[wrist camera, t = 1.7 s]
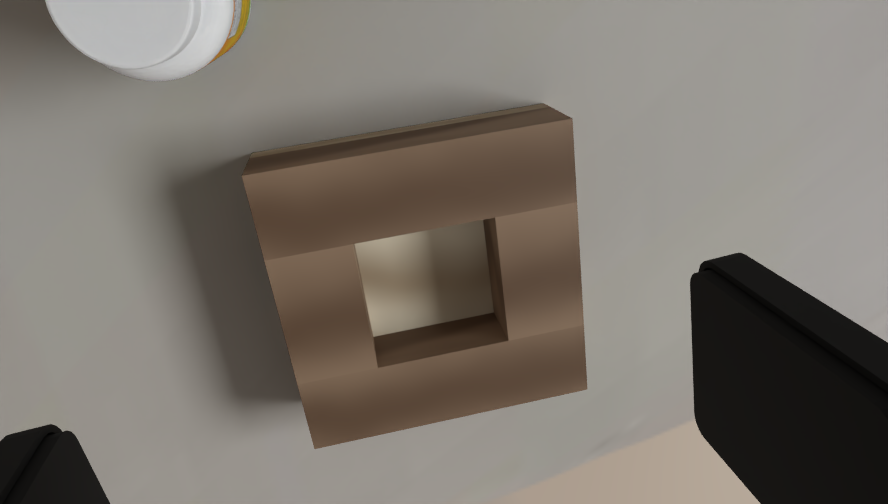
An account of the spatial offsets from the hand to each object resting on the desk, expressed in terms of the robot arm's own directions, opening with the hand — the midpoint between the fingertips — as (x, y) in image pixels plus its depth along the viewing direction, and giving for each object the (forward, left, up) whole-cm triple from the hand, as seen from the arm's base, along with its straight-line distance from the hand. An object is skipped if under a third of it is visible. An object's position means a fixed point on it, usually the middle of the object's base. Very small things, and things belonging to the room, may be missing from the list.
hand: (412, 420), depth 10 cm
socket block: (+7, +2, -23) cm, 24 cm away
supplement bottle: (-7, -6, -23) cm, 24 cm away
